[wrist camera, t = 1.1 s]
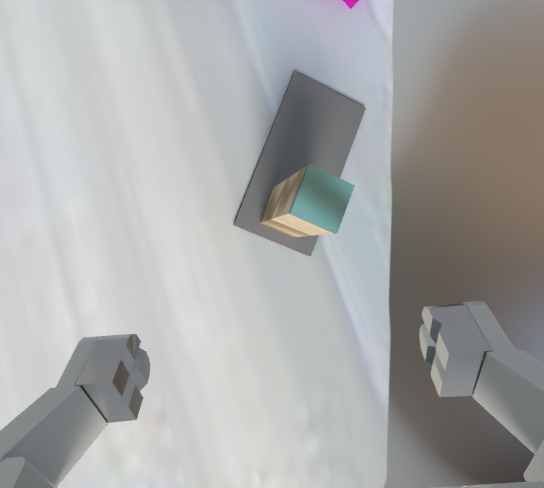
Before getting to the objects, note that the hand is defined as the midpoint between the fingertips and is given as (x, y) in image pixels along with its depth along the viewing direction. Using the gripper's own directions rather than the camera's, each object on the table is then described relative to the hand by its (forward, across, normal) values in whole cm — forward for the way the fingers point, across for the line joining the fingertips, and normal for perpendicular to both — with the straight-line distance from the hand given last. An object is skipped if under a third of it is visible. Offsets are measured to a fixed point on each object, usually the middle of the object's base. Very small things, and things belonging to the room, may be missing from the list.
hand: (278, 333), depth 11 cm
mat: (+40, -2, +14) cm, 43 cm away
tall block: (+36, +1, +18) cm, 40 cm away
